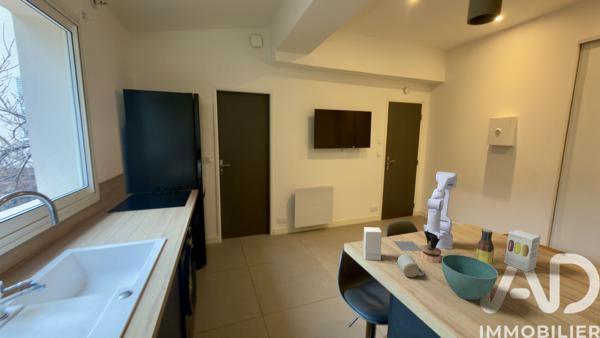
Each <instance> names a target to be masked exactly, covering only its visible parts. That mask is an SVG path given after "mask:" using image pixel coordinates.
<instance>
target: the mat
mask: <svg viewBox="0 0 600 338" xmlns="http://www.w3.org/2000/svg"><path fill="white" fill-rule="evenodd" d="M392 242H393V243H394V244H395V245H396V246H397V247H398V249H399V250H400V251H403V252H404V251H407V252H408V251H409V252H412V251H414V252H421V251H422V250H421V249H420V247H419V246H418V245H417V244H416V243H415V242H414V241H405V240H404V241H401V240H397V241H396V240H395V241H392Z"/></svg>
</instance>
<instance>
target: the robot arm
mask: <svg viewBox="0 0 600 338" xmlns="http://www.w3.org/2000/svg"><path fill="white" fill-rule="evenodd" d="M435 181H436V183H437V187H436V188H435V189H433V192H432V194H431V197H430V198H428V200H427V206H426V207H427V208H426V209H427V223H426V224H423V229H424V230H423V233H424V235H425V238H426V245H428V242H429V241H431V248H438V249H445V250H446V249H449V250H450V249H451V250H452V249H453V241H454V237H453V233H452V230H453V229H452V228H453V220H452V218H451V217H450V216H449V215H448V214H449V213H448V212H449V207H450V206H449V204H450V198H451V191H452V189H454V188H456V186H457V183H458V182H457V181H458V173H457V172H448V171H440V170H439V171H437V172H436V175H435Z"/></svg>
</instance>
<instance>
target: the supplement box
mask: <svg viewBox="0 0 600 338" xmlns="http://www.w3.org/2000/svg"><path fill="white" fill-rule="evenodd" d="M540 242H541V235H538V234H534V233H530V232H526V231H523V230H520V229H516V230H515V229H514V230H512V231H510V232H508V236H507V242H506V249H505V256H504V263H503V264H505V265H507V266H510V267H513V268H514V269H518V270H521V271H523V272H526V273H529V272H531V271H532V270H534V269H536V268H537V267H536V266H537V262H538V255H539V254H538V253H539V248H540Z"/></svg>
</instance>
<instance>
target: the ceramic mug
mask: <svg viewBox="0 0 600 338" xmlns="http://www.w3.org/2000/svg"><path fill="white" fill-rule="evenodd" d="M397 265H398V267H399V269H400V270H401V272H402V273H403V275H405V276H406V277H408V278H415V277H417V275H418V276H419V277H423V276H424V275H425V273H424V270H422V269H421V267H419V265H418V263H417V262H416V261H415V259H414V257H412V256H411V255H410V254H408V253H407V254H406V253H405V254H402V255H400V256H399V257H398V259H397Z"/></svg>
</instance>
